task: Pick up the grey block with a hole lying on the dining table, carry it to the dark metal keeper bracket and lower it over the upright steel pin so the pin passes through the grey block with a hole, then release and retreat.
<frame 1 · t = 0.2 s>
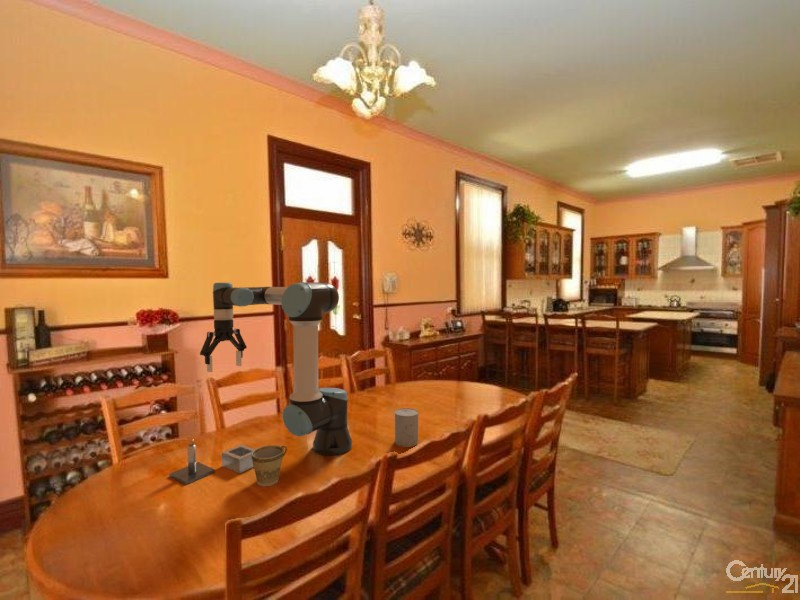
hand: (224, 368, 170), 28 cm above the table, fingers open, 13 cm apart
ceramic cup: (271, 480, 132), on the table
grey block with hole: (240, 465, 142), on the table
keeper: (192, 474, 135), on the table
gray cylinder: (406, 442, 162), on the table
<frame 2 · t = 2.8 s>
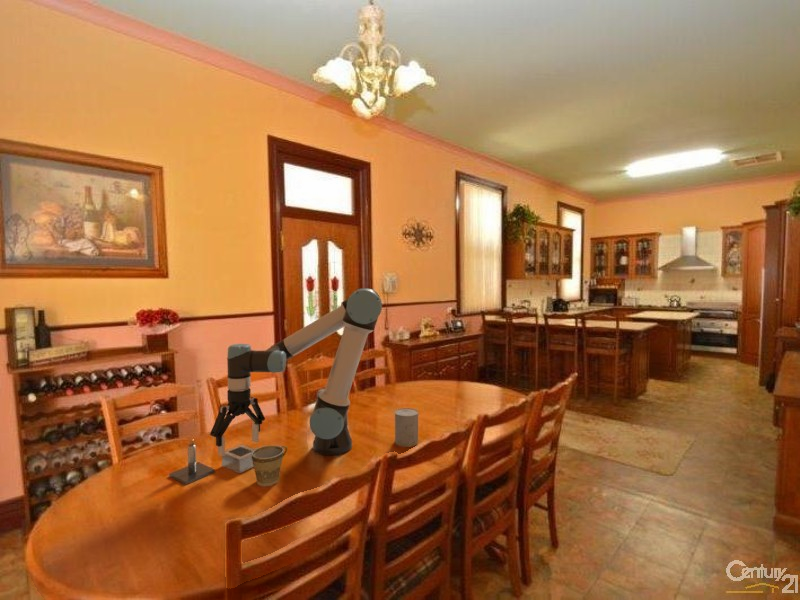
hand: (239, 447, 141), 6 cm above the table, fingers open, 13 cm apart
nothing on the table moved.
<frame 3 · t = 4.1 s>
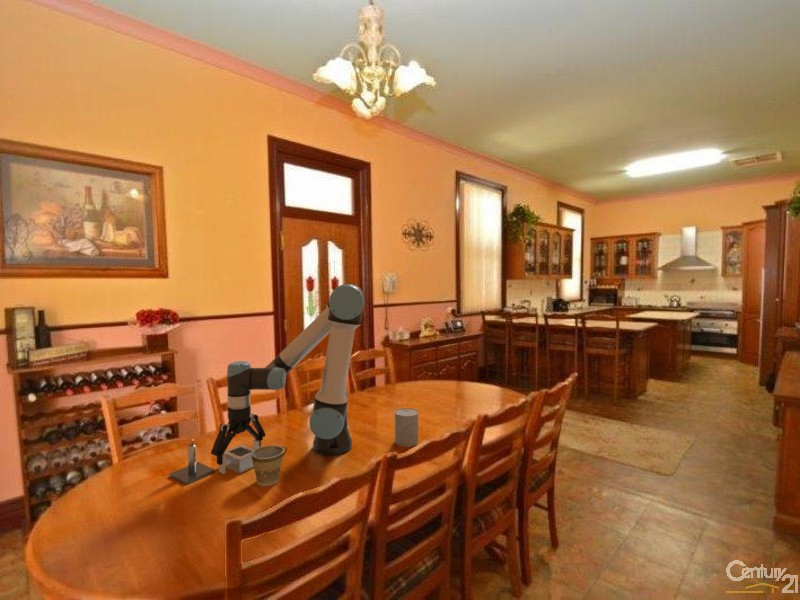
hand: (240, 465, 142), 0 cm above the table, fingers open, 13 cm apart
nothing on the table moved.
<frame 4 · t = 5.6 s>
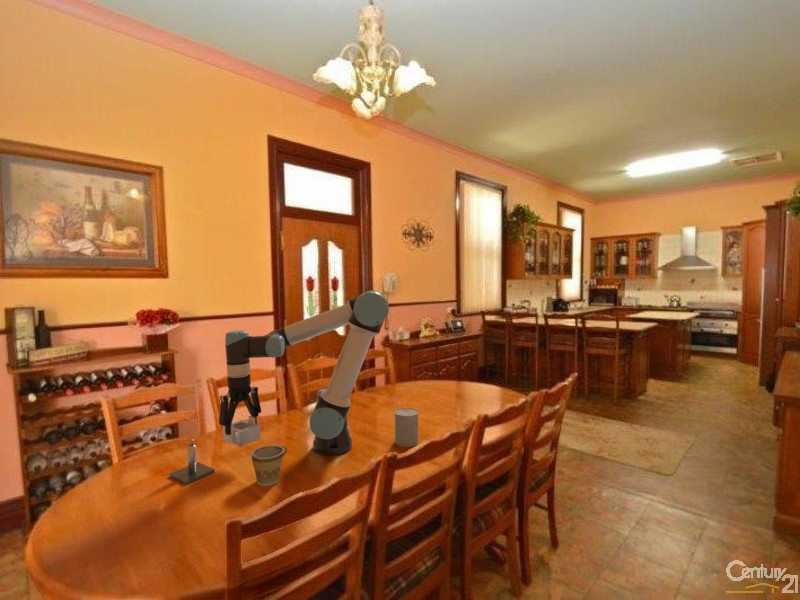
hand: (242, 438, 141), 10 cm above the table, fingers closed on grey block with hole, 8 cm apart
grey block with hole: (242, 439, 141), point 9 cm above the table, touching gripper
everything else where it was.
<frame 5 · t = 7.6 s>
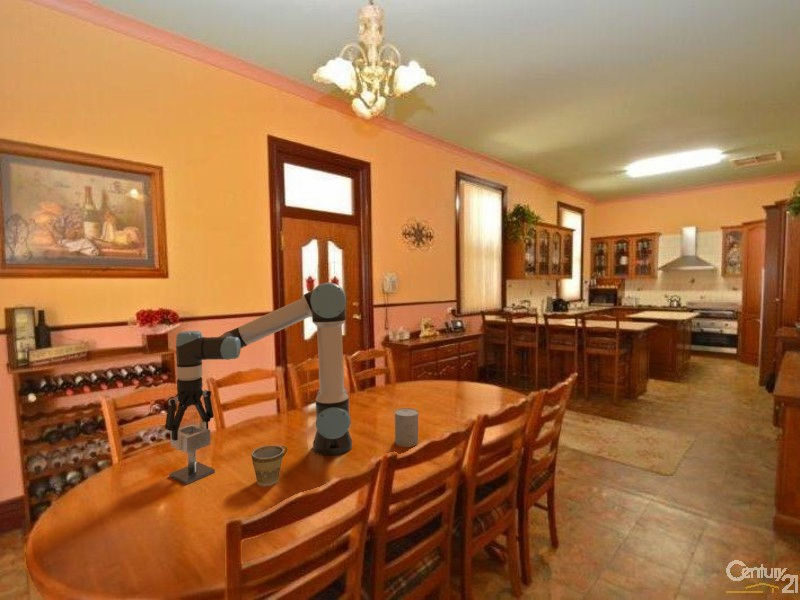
hand: (190, 444, 134), 10 cm above the table, fingers closed on grey block with hole, 8 cm apart
grey block with hole: (190, 445, 134), point 10 cm above the table, touching gripper
everything else where it was.
when the fingers open (2 cm above the table, at t = 10.0 s): grey block with hole stays where it is, resting on keeper.
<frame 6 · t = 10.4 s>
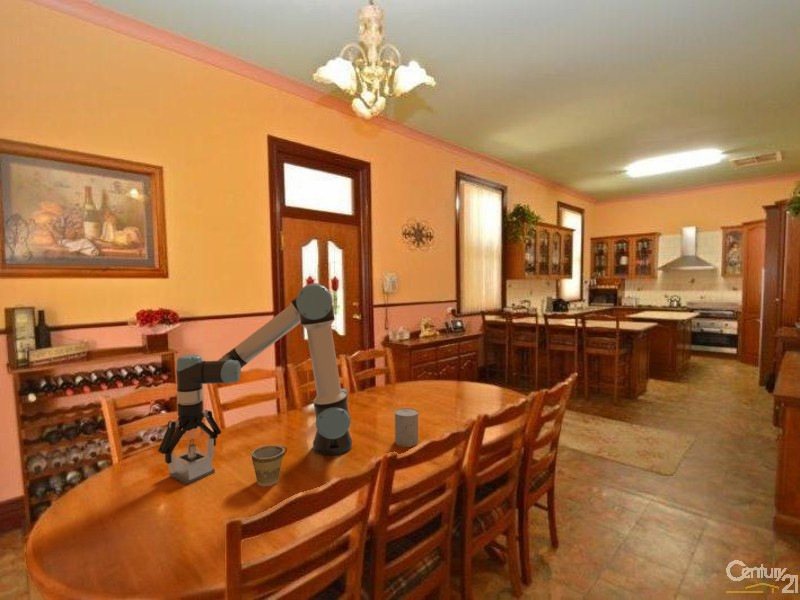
hand: (192, 463, 135), 4 cm above the table, fingers open, 13 cm apart
grey block with hole: (192, 471, 135), point 1 cm above the table, touching keeper
everything else where it was.
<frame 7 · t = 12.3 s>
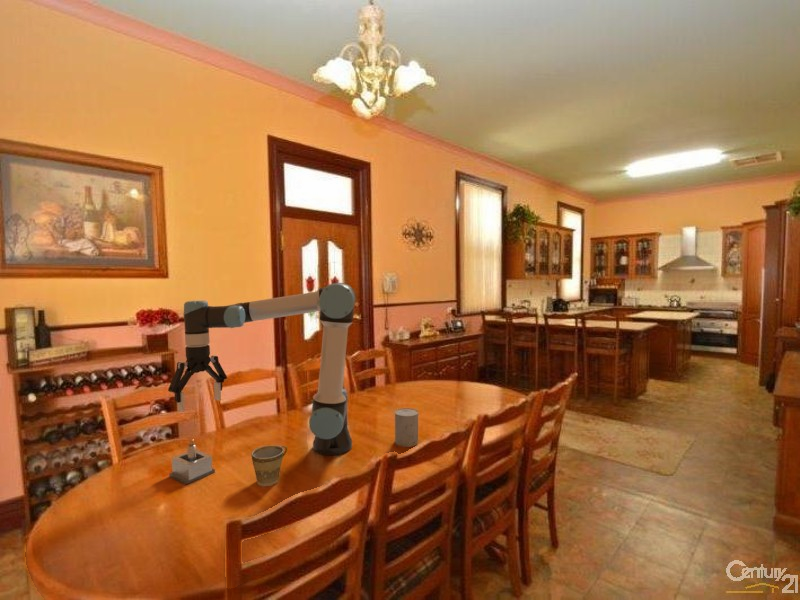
hand: (200, 405, 140), 22 cm above the table, fingers open, 13 cm apart
nothing on the table moved.
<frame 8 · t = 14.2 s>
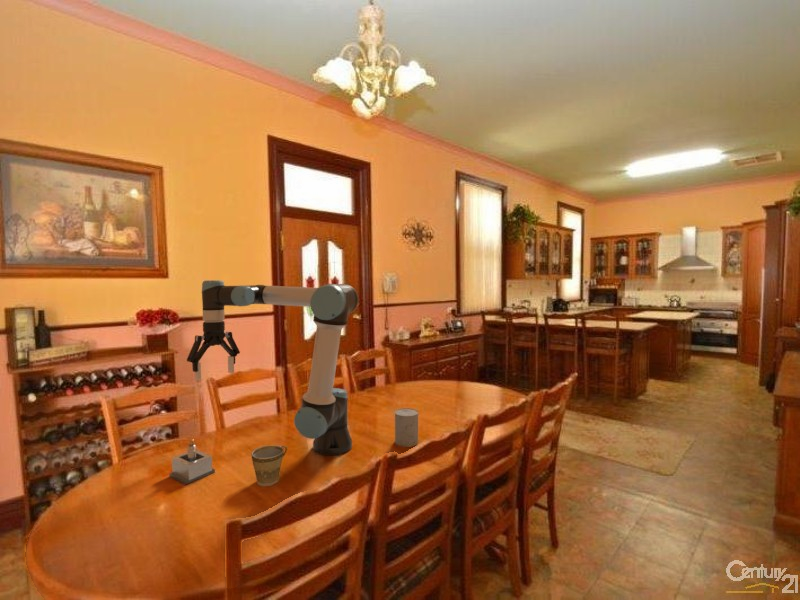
hand: (215, 376, 153), 29 cm above the table, fingers open, 13 cm apart
nothing on the table moved.
at the end: grey block with hole 0.1 cm off-centre on the keeper, point 1.0 cm above the keeper's base; the gripper is holding nothing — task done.
